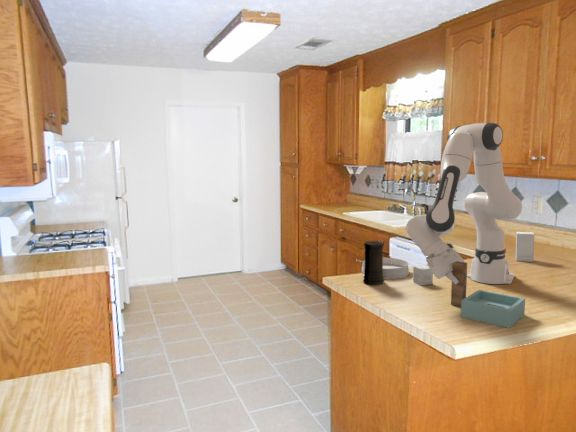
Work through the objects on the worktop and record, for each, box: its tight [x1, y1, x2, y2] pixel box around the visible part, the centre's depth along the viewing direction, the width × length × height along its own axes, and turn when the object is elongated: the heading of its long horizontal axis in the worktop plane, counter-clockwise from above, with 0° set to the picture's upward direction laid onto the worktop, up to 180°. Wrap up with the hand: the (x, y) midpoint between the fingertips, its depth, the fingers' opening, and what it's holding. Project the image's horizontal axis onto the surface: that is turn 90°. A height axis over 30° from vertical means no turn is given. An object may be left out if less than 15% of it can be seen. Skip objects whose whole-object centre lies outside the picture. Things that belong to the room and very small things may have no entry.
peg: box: [450, 261, 468, 307], centre depth 171 cm, size 4×4×16 cm
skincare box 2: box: [515, 231, 535, 263], centre depth 236 cm, size 8×6×15 cm
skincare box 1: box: [412, 264, 434, 287], centre depth 200 cm, size 6×6×7 cm
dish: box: [361, 257, 410, 280], centre depth 218 cm, size 22×22×5 cm
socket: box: [460, 289, 526, 329], centre depth 159 cm, size 16×16×6 cm
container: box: [362, 240, 385, 286], centre depth 201 cm, size 9×9×18 cm
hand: (460, 281), depth 171 cm, fingers closed on peg, 4 cm apart
